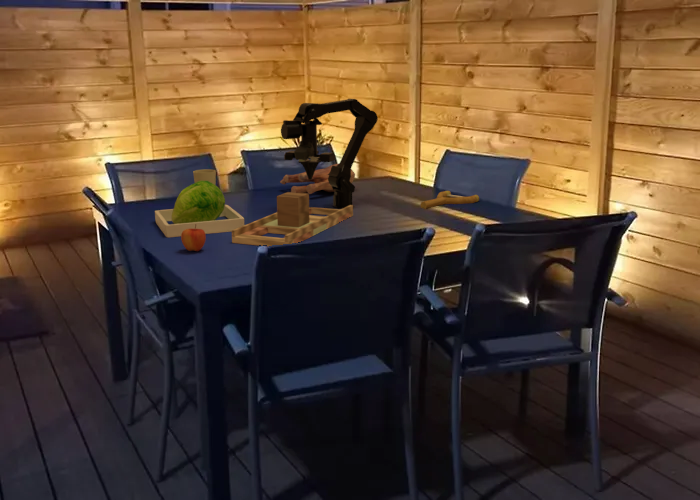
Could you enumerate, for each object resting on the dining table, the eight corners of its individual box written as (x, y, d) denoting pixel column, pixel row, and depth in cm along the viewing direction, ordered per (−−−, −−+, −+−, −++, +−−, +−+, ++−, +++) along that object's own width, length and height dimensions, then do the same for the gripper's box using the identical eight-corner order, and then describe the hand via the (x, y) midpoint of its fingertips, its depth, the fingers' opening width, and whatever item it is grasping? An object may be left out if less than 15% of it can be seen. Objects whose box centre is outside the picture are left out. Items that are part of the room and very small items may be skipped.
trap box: (304, 211, 291) (303, 201, 290) (352, 215, 283) (352, 205, 282) (232, 242, 246) (231, 230, 245) (287, 248, 238) (287, 235, 237)
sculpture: (281, 205, 333) (336, 194, 350) (314, 194, 312) (371, 183, 329) (274, 178, 332) (330, 168, 350) (307, 165, 311) (364, 156, 329)
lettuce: (184, 217, 282) (157, 189, 270) (231, 191, 279) (205, 161, 267) (189, 249, 270) (160, 221, 258) (238, 222, 267) (211, 192, 255)
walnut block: (288, 220, 267) (287, 192, 265) (309, 222, 264) (308, 193, 261) (277, 225, 260) (276, 196, 257) (298, 227, 257) (298, 197, 254)
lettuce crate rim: (227, 215, 286) (227, 204, 285) (245, 230, 263) (244, 218, 262) (155, 221, 277) (154, 210, 276) (166, 237, 253) (165, 225, 252)
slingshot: (406, 198, 301) (445, 189, 318) (405, 206, 301) (445, 197, 319) (441, 204, 289) (480, 194, 306) (441, 212, 290) (480, 202, 307)
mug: (223, 200, 315) (221, 171, 312) (200, 203, 309) (198, 173, 306) (211, 196, 324) (210, 167, 321) (189, 199, 318) (187, 170, 315)
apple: (177, 252, 234) (175, 227, 232) (190, 247, 241) (188, 221, 239) (198, 254, 232) (196, 228, 230) (211, 248, 239) (209, 223, 236)
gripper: (276, 139, 282) (277, 181, 286) (322, 141, 275) (323, 184, 279) (290, 135, 292) (291, 176, 296) (335, 137, 285) (336, 179, 289)
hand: (310, 179), depth 290 cm, fingers closed
